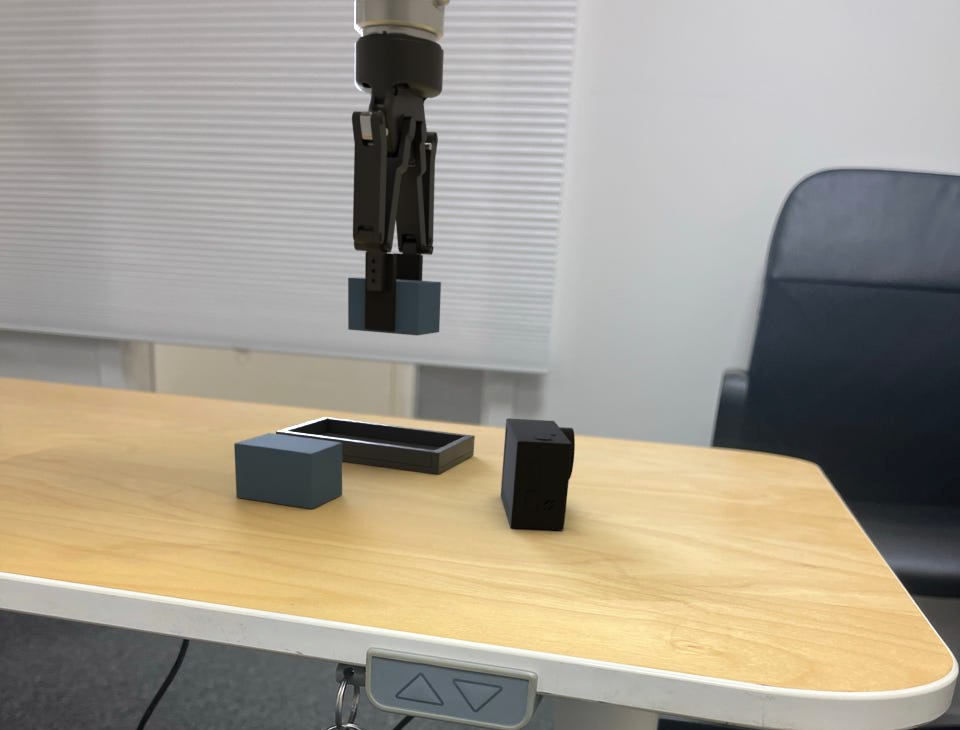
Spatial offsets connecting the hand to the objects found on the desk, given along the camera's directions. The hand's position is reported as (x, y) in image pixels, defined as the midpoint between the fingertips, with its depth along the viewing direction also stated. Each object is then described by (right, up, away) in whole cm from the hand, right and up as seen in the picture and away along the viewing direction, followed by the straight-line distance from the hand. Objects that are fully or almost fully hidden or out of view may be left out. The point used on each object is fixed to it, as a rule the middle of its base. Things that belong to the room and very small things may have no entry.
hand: (393, 327), depth 87 cm
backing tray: (-2, -10, +9) cm, 14 cm away
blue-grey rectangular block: (-8, -17, -9) cm, 21 cm away
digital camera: (+13, -19, -9) cm, 25 cm away
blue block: (0, 0, 0) cm, 0 cm away
